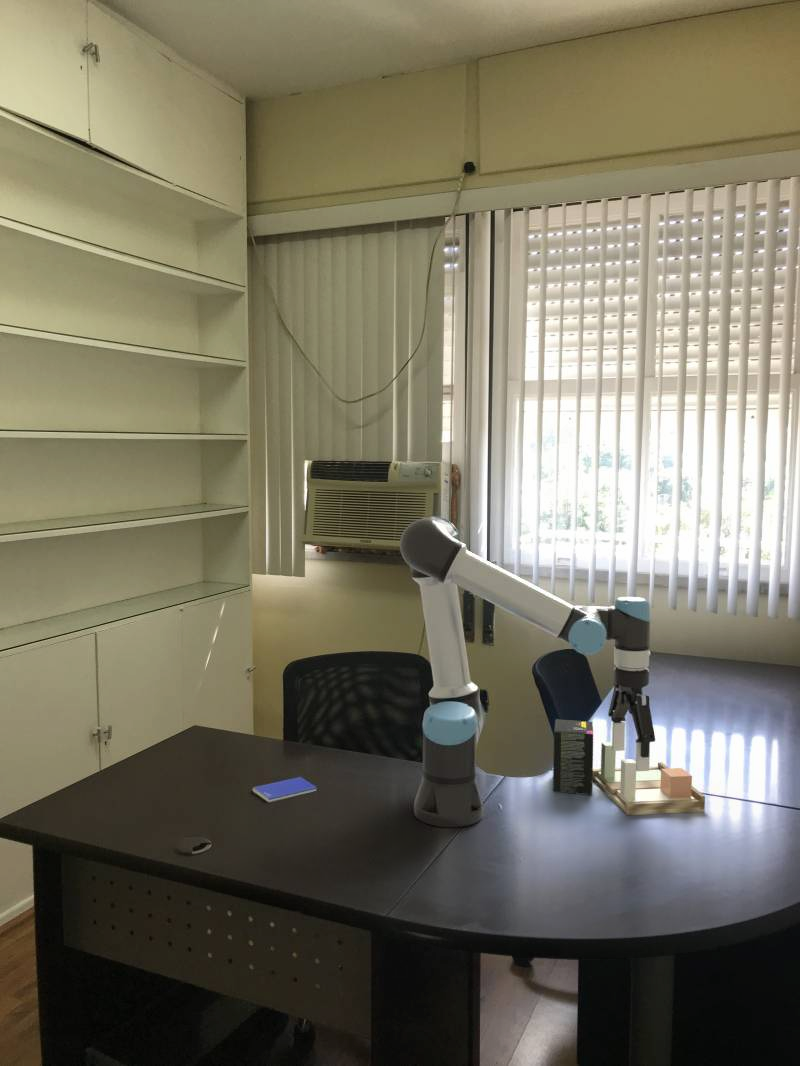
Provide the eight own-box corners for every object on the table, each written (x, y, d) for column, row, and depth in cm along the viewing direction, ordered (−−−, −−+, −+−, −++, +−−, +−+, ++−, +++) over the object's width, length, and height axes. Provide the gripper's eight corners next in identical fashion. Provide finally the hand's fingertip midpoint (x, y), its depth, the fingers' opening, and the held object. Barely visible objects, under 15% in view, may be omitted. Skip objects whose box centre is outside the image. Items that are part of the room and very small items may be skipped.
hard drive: (268, 798, 193) (316, 786, 200) (252, 786, 199) (299, 776, 207) (268, 804, 193) (316, 793, 200) (252, 793, 200) (299, 782, 207)
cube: (670, 798, 192) (670, 776, 191) (660, 790, 197) (661, 768, 196) (691, 797, 192) (691, 775, 192) (680, 789, 197) (681, 768, 197)
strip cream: (628, 806, 190) (629, 766, 189) (616, 794, 196) (617, 756, 196) (695, 803, 192) (696, 764, 191) (681, 791, 198) (682, 753, 198)
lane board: (627, 815, 188) (627, 799, 188) (591, 778, 210) (591, 764, 209) (704, 811, 190) (705, 796, 190) (661, 776, 212) (661, 762, 212)
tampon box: (592, 795, 199) (594, 734, 198) (552, 792, 201) (553, 731, 200) (591, 779, 210) (593, 720, 209) (553, 775, 212) (554, 717, 210)
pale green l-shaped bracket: (607, 786, 201) (608, 748, 201) (597, 775, 208) (598, 739, 207) (671, 783, 204) (672, 746, 203) (658, 773, 210) (660, 737, 210)
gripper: (672, 679, 179) (670, 778, 180) (625, 654, 204) (624, 741, 205) (638, 681, 178) (636, 780, 179) (595, 655, 203) (594, 743, 204)
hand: (630, 760), depth 192 cm, fingers open, 13 cm apart
